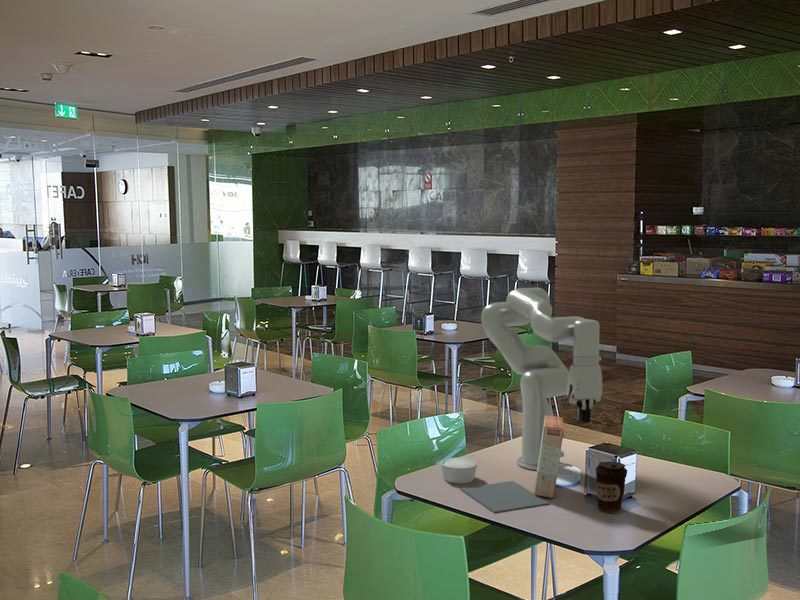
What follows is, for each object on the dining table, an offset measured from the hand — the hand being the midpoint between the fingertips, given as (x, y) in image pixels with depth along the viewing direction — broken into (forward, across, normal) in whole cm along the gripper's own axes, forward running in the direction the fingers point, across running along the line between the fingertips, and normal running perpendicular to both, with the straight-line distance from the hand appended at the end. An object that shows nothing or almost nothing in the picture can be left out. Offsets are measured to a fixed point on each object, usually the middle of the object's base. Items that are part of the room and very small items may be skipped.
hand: (584, 421), depth 235 cm
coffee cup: (+20, +5, +19) cm, 28 cm away
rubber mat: (+20, +27, -1) cm, 34 cm away
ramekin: (+20, +32, -20) cm, 43 cm away
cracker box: (+20, +13, -1) cm, 24 cm away
